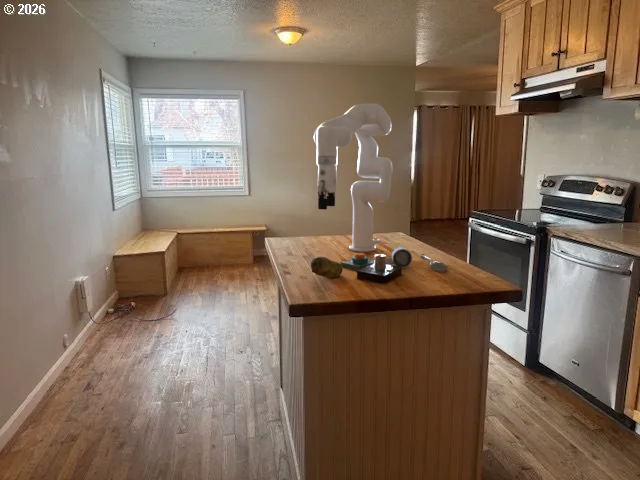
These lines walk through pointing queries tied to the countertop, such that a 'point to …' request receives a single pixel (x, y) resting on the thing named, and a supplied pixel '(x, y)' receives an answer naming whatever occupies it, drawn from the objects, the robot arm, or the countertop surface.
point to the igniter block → (357, 263)
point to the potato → (326, 267)
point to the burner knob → (380, 262)
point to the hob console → (379, 274)
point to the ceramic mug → (400, 258)
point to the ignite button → (360, 255)
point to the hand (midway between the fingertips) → (326, 207)
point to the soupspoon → (436, 265)
